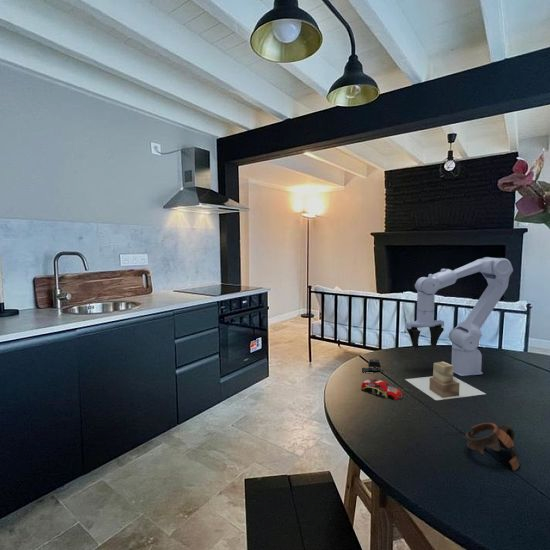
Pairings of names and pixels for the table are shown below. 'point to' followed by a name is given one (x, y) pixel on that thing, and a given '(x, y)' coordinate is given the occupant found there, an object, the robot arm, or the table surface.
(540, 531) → the table surface
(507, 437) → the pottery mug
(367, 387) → the race car
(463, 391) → the board
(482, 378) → the table surface
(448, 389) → the walnut block
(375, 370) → the black angular block
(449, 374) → the maple block
